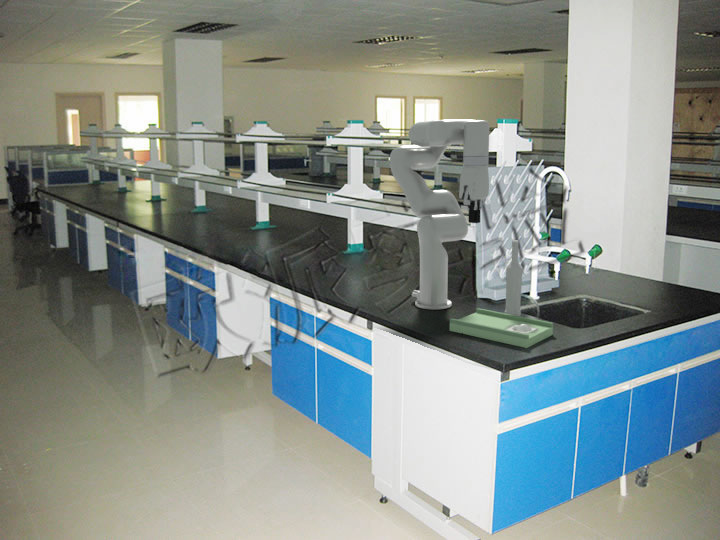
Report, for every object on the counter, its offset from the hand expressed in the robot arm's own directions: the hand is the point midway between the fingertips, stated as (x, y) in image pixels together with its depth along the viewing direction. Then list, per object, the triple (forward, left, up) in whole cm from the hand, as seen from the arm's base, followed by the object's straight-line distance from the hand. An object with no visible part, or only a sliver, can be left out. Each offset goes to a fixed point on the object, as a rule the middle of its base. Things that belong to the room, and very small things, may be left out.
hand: (474, 222), depth 212 cm
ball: (+20, -3, -30) cm, 36 cm away
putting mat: (+12, -3, -32) cm, 34 cm away
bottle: (+6, +15, -32) cm, 36 cm away
